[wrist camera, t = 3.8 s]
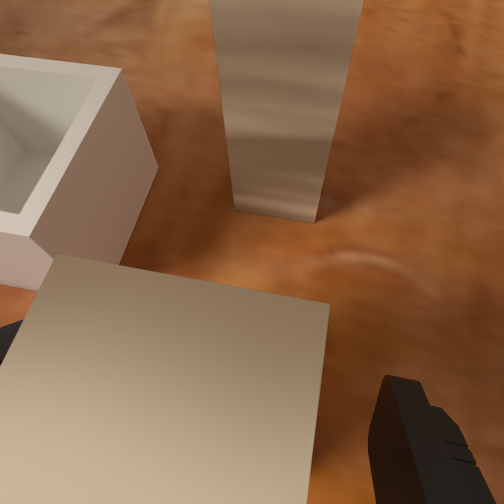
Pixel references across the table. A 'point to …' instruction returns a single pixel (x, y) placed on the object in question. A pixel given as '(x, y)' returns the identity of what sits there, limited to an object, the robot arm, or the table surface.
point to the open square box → (67, 165)
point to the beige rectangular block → (281, 97)
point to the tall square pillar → (159, 391)
